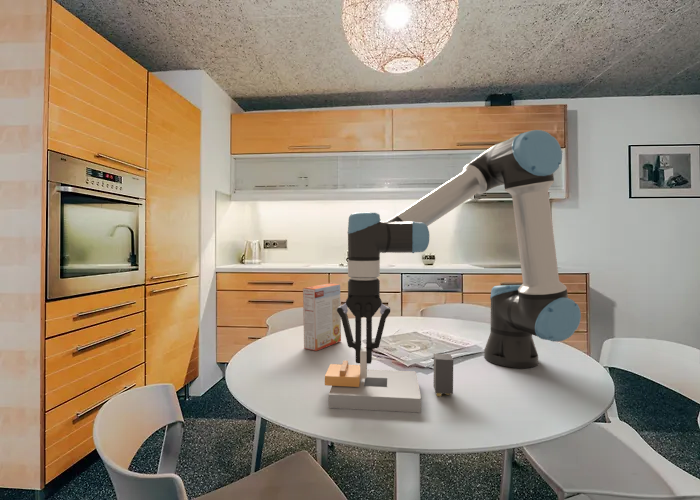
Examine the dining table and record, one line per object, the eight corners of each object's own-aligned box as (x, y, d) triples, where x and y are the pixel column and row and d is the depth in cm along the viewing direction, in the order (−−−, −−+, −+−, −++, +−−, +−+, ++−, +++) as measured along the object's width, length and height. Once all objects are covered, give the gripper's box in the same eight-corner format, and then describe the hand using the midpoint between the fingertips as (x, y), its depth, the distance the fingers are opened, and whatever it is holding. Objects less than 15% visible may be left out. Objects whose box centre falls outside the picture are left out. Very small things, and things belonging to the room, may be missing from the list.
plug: (450, 390, 89) (450, 354, 89) (452, 398, 85) (453, 359, 85) (433, 390, 89) (433, 353, 89) (435, 397, 85) (435, 359, 85)
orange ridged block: (361, 373, 91) (361, 360, 91) (359, 386, 83) (359, 372, 83) (330, 372, 92) (330, 359, 92) (324, 385, 84) (324, 370, 84)
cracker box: (328, 339, 134) (328, 282, 134) (341, 341, 131) (341, 283, 130) (302, 348, 123) (302, 286, 122) (315, 351, 119) (315, 288, 119)
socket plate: (415, 382, 94) (415, 371, 94) (421, 412, 78) (421, 398, 78) (339, 379, 96) (338, 368, 96) (328, 407, 80) (328, 394, 80)
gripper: (391, 276, 89) (391, 371, 90) (338, 276, 91) (338, 369, 91) (391, 280, 82) (391, 383, 83) (334, 279, 83) (334, 381, 84)
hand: (363, 376), depth 87 cm, fingers closed
